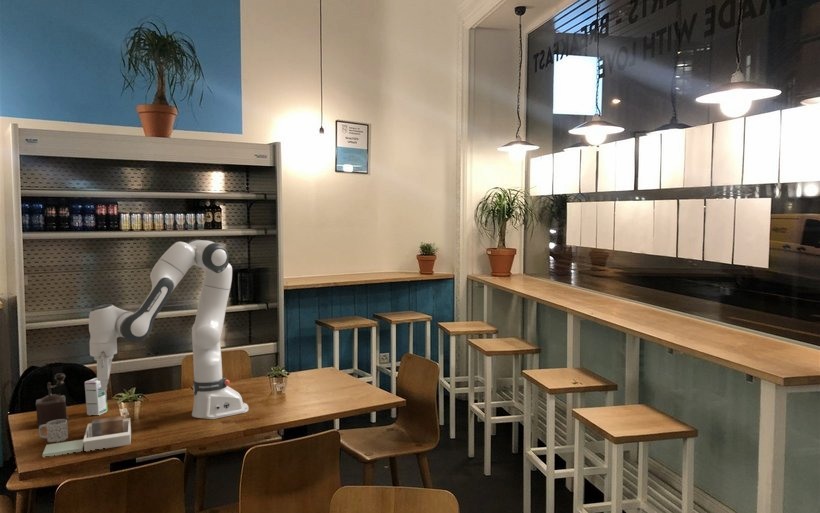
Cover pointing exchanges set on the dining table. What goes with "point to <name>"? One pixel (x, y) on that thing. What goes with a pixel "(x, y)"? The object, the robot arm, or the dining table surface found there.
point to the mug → (55, 430)
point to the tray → (107, 438)
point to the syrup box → (95, 398)
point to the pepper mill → (52, 404)
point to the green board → (63, 448)
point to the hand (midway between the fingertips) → (105, 387)
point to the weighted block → (107, 426)
